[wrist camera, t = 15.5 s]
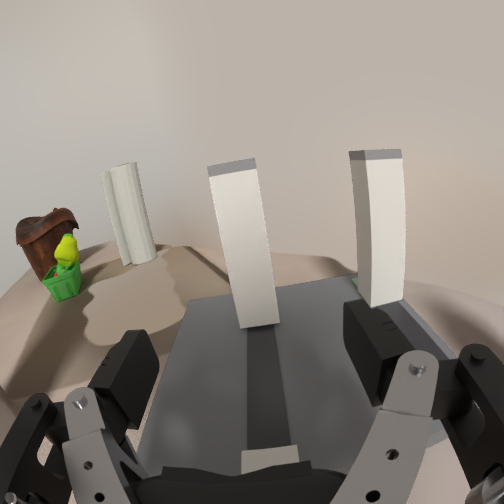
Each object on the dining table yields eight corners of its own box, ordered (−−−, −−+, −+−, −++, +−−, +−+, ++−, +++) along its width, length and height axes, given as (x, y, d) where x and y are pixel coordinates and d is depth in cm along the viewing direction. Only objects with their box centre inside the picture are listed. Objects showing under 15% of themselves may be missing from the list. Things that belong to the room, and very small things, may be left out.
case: (89, 268, 59) (70, 198, 53) (25, 293, 49) (3, 225, 43) (88, 255, 73) (73, 200, 68) (36, 276, 63) (19, 221, 57)
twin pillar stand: (145, 485, 11) (-14, 240, 6) (194, 314, 32) (160, 181, 27) (480, 418, 10) (550, 159, 5) (373, 284, 31) (366, 150, 26)
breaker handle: (240, 328, 23) (206, 166, 19) (241, 308, 27) (213, 165, 22) (279, 322, 23) (254, 157, 19) (276, 303, 26) (253, 158, 22)
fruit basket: (59, 287, 49) (43, 240, 45) (91, 276, 53) (77, 228, 49) (50, 306, 39) (30, 250, 36) (89, 293, 43) (70, 235, 40)
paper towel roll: (162, 254, 59) (141, 160, 52) (149, 264, 53) (125, 162, 47) (138, 256, 61) (117, 168, 54) (123, 266, 55) (100, 171, 48)
